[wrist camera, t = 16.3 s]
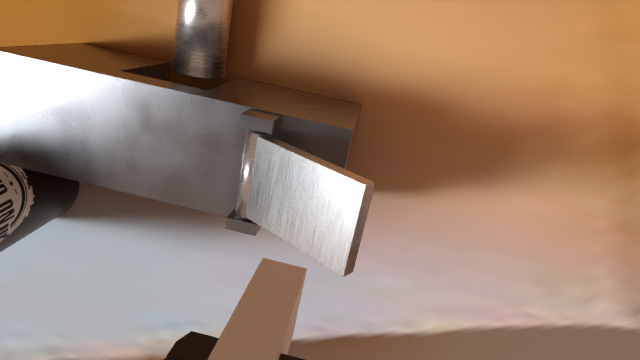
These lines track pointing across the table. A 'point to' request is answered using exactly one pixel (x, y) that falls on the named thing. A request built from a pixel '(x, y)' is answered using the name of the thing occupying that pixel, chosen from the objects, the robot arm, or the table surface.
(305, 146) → the hitch beam
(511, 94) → the table surface
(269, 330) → the robot arm
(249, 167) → the plate
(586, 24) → the table surface
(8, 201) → the water bottle
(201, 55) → the lynch pin
